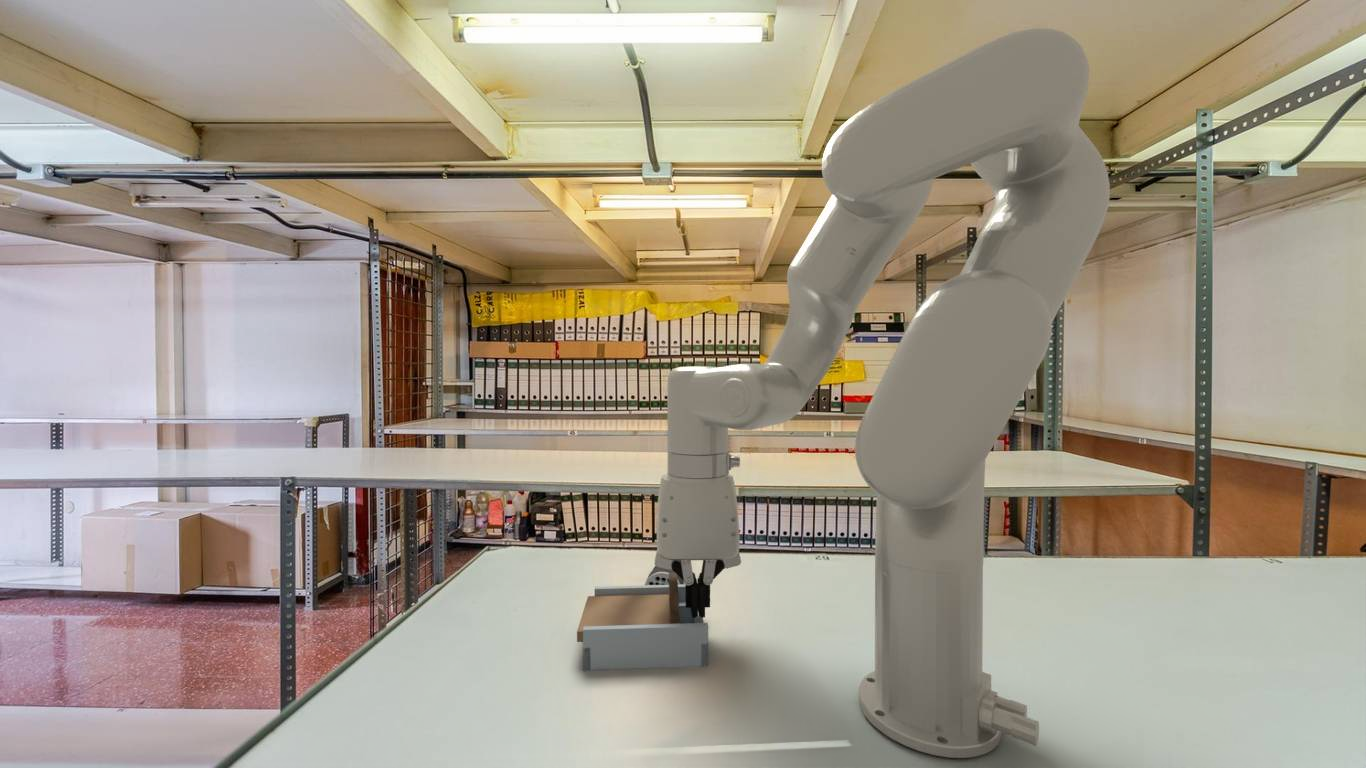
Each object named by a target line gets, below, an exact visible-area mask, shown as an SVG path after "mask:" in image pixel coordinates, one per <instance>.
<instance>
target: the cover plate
mask: <svg viewBox="0 0 1366 768" xmlns="http://www.w3.org/2000/svg"><path fill="white" fill-rule="evenodd" d="M668 581H669V584H668V585H669V594H660V595H619V596H595V595H588V596H587V598H586V602H585V605H584V607H583V611H582V615H581V617H580V620H579V623H578V627H577V630H576V642H577V643H583V628H584V626H617V625H652V624H680V617H679V592H678V582H677V574H676V573H675V572H674V573H669V579H668Z"/></svg>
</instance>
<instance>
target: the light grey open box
mask: <svg viewBox="0 0 1366 768" xmlns="http://www.w3.org/2000/svg"><path fill="white" fill-rule="evenodd" d="M678 592H679V617H680V624H652V625H617V626H584V628H583V642H582V648H583V649H582V662H583V663H582V667H583V668H582V669H583V670H582V671H612V670H613V671H614V670H617V671H618V670H640V669H641V670H642V669H643V670H645V669H647V670H648V669H674V668H675V669H676V668H698V667H699V668H700V667H701V668H704V667H705V668H706V667H709V625H708V622H705V621H704V618H701V616H699V613H698V616H696V618H692V613H691V608H686V601H685V583H683V584H678ZM660 594H669V584H668V585H645V584H644V585H640V584H639V585H605V586H604V585H603V586H602V585H601V586H595V587H594V596H619V595H660Z"/></svg>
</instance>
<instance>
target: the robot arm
mask: <svg viewBox="0 0 1366 768" xmlns="http://www.w3.org/2000/svg"><path fill="white" fill-rule="evenodd" d="M1083 48H1084V47H1083V46H1082V45H1081V44H1080V43H1079V42H1078V41H1077V40H1076V39H1075V38H1074V37H1072V36H1070V35H1069V34H1067V33H1065V32H1064V31H1061V30H1058V29H1054V28H1043V27H1042V28H1041V27H1039V28H1038V27H1034V28H1027V29H1022V30H1017V31H1014V32H1012V33H1008V34H1006V35H1003V36H999V37H998V38H996V39H993V40H990V41H989V42H987V43H984V44H982V45H980V46H978V47H976V48H975V49H972V50H971V51H968V52H966V53H965V54H963V55H961V56H959V57H957V58H955V59H953V60H951V61H948V62H947V63H945V64H943V65H940V67H937V68H935V69H933V70H932V71H930V72H928V73H926V74H924V75H922V76H919V77H918V78H916V79H914V80H912V81H910V82H909V83H907V84H905V85H902V86H901V87H899V88H897V89H894V90H893V91H891V92H889V93H888V94H886V95H884V96H882V97H879V98H878V99H877V100H875V101H874V102H872V103H870V104H869V105H867V106H865V107H864V108H863V109H861V110H860V111H858V112H856V113H855V114H854V115H852V116H851V117H850V118H848V120H846V121H845V122H844V123H843V124H842V125H840V126H839V128H838V129H837V130H836V131H835V132H834V133H833V135H832V136H831V138H830V140H829V141H828V143H827V144H826V147H825V150H824V151H823V156H822V161H821V174H822V177H823V182H824V184H825V187H826V188H827V189H828V191H829V193H830V194H831V196H830V197H829V199H828V201H827V203H826V205H825V206H824V208H823V210H822V212H821V213H820V215H819V217H818V218H817V220H816V222H815V223H814V225H813V226H812V229H811V230H810V231H809V233H808V235H807V236H806V238H805V240H804V242H803V243H802V245H801V246H800V248H799V249H798V251H797V253H796V254H795V256H794V257H793V259H792V261H791V263H790V265H789V267H788V269H787V273H786V274H787V275H786V276H787V277H786V284H787V293H788V299H789V308H788V309H789V311H788V315H787V316H788V317H787V320H786V324H785V326H784V328H783V330H782V332H781V335H780V336H779V339H778V340H777V342H776V344H775V345H774V348H773V349H772V351H771V352H770V353H769V355H768V357H767V358H766V360H765V362H764V363H737V364H729V365H724V366H720V367H719V366H705V365H704V366H703V365H702V366H701V365H699V366H697V365H695V366H693V365H692V366H689V365H688V366H678V367H675V368H673V369H671V370H670V372H669V373H668V377H667V473H665V474H663V475H661V478H660V483H659V488H658V489H659V490H658V495H657V496H658V497H657V512H656V513H657V517H656V547H657V549H656V552H655V557H654V566H657V567H660V568H664V569H671V570H673V571H674V572H675V573H676V574H677V575H678V576H679V577H680V578H681V579H682V580H683V584H685V601H686V608H691V613H692V618H696V616H698V613H699V616H701V618H703V619H704V618H706V608H711V585H712V584H713V582H714V580H715V579H716V578H717V577H718V575H720V574H721V572H723V570H726V569H730V568H733V567H734V568H735V567H738V566H740V565H741V564H742V560H741V559H742V558H741V555H740V552H739V551H740V544H741V543H740V524H739V523H740V522H739V508H738V499H737V492H736V485H735V479H734V476H733V474H730V471H731V469H734V468H740V466H741V458H740V456H739V455H738V456H737V455H735V456H734V454H733V455H732V454H731V453H730V452H729V429H731V430H732V429H733V430H735V431H752V430H753V431H755V430H758V429H763V428H767V427H770V426H776V425H780V424H783V423H786V422H788V421H790V420H791V419H793V418H794V417H795V416H797V415H798V413H800V411H801V410H802V409H803V408H804V407H805V405H806V404H807V403H808V401H809V400H810V398H811V397H812V395H813V394H814V393H815V391H816V390H817V388H818V386H819V385H820V383H821V382H822V380H823V379H824V378H825V376H826V375H827V373H828V372H829V369H830V368H831V366H832V364H833V363H834V361H835V359H836V357H837V355H838V353H839V351H840V349H841V347H842V345H843V343H844V340H845V338H846V336H847V333H848V332H849V330H850V327H851V324H852V323H853V319H854V317H855V314H856V312H857V310H858V308H859V307H860V305H861V304H862V301H864V298H865V297H866V295H867V293H868V292H869V291H870V289H871V288H872V286H873V285H874V283H875V281H876V280H877V279H878V277H879V275H880V274H881V273H882V271H883V270H884V268H885V266H886V265H887V264H888V261H889V260H890V259H891V257H892V256H893V254H894V253H895V251H896V250H897V248H898V247H899V246H900V244H901V242H902V241H903V239H904V238H905V236H906V235H907V234H908V232H909V230H910V229H911V227H912V225H913V224H914V223H915V221H916V219H918V218H919V215H920V214H921V212H922V210H923V209H924V207H925V205H926V203H927V201H928V200H929V197H930V195H931V191H932V188H933V187H932V186H933V181H934V179H936V178H938V177H941V176H944V175H946V174H948V173H951V172H953V171H956V170H959V169H961V168H963V167H965V166H969V165H971V167H972V169H973V170H974V171H975V173H977V175H978V176H979V177H980V178H981V179H982V180H983V181H984V182H985V183H986V185H988V187H990V189H991V190H992V193H993V195H994V207H993V209H992V211H991V214H990V216H989V217H988V219H987V220H986V222H985V224H984V225H983V227H982V229H981V230H980V233H979V234H978V236H977V238H976V241H975V243H974V246H973V248H972V250H971V252H970V254H969V256H968V258H967V260H966V262H965V263H964V265H963V268H962V270H961V271H960V273H959V274H958V275H955V276H953V277H952V278H949V279H947V280H946V281H944V282H942V283H941V284H940V285H938V286H937V287H936V288H935V289H933V290H932V291H931V292H930V293H929V294H928V295H927V296H926V298H925V299H924V300H923V301H922V302H921V304H920V305H919V307H918V308H917V309H916V311H915V312H914V315H913V316H912V318H911V320H910V321H909V323H908V325H907V328H906V329H905V332H904V334H903V335H902V337H901V339H900V341H899V343H898V346H897V348H896V350H895V352H894V353H893V355H892V357H891V359H890V362H889V364H888V365H887V367H886V369H885V371H884V374H883V376H882V377H881V380H880V381H879V383H878V385H877V387H876V389H875V391H874V394H873V395H872V398H871V400H870V401H869V404H868V406H867V407H866V410H865V412H864V414H863V416H862V417H861V418H862V419H861V421H860V422H859V426H858V428H857V431H856V436H855V440H854V441H855V442H854V454H855V455H854V456H855V461H856V466H857V468H858V470H859V473H860V475H861V477H862V478H863V480H864V482H865V484H867V486H868V488H870V489H871V491H872V492H874V493H875V494H876V508H875V509H876V510H875V531H874V532H875V539H874V540H875V541H874V543H875V544H874V545H875V551H874V671H870V673H869V674H867V675H865V676H864V677H863V679H861V681H860V684H859V685H858V703H859V707H860V710H861V711H862V713H863V715H864V716H865V717H866V719H867V720H868V721H869V722H870V723H871V724H872V725H873V726H874V727H875V728H876V729H877V730H879V732H881V733H882V734H884V735H885V736H887V737H888V738H890V739H891V740H894V741H895V742H897V743H899V744H901V745H903V746H905V747H907V748H910V749H913V750H915V751H917V752H921V753H925V754H928V755H933V756H936V757H937V756H938V757H943V758H950V759H951V758H952V759H954V758H955V759H966V758H968V759H969V758H975V757H979V756H982V755H983V756H984V755H985V754H988V753H989V752H991V751H993V750H995V748H997V746H998V745H999V744H1000V741H1001V738H1002V733H1003V734H1006V735H1010V736H1011V738H1014V739H1016V740H1019V741H1022V742H1024V743H1026V744H1028V745H1031V746H1034V747H1037V746H1038V743H1039V735H1040V723H1039V721H1038V720H1036V719H1033V718H1030V717H1028V706H1027V704H1025V703H1024V704H1023V703H1021V702H1019V701H1016V700H1013V699H1007V698H1005V697H1002V696H1000V695H998V692H997V691H994V690H992V674H990V673H987V672H984V671H983V647H984V646H983V637H984V635H983V631H984V629H983V627H984V626H983V624H984V623H983V622H984V621H983V619H984V618H983V617H984V616H983V615H984V613H983V612H984V611H983V609H984V608H983V607H984V601H983V598H984V597H983V595H984V594H983V593H984V588H983V587H984V586H983V585H984V522H985V521H984V520H985V519H984V518H985V516H984V513H985V479H986V477H985V475H986V474H985V473H986V459H987V457H988V456H989V454H990V452H991V450H992V448H993V447H994V445H995V443H996V442H997V440H998V438H999V437H1000V435H1001V434H1002V431H1003V430H1004V428H1005V426H1006V425H1007V423H1008V422H1009V419H1010V418H1011V416H1012V414H1013V412H1014V411H1015V409H1016V407H1017V405H1019V403H1020V401H1021V399H1022V397H1023V395H1024V394H1025V392H1026V390H1027V389H1028V386H1029V385H1030V383H1031V381H1032V379H1033V378H1034V377H1035V375H1036V373H1037V370H1038V369H1039V367H1040V365H1041V363H1042V361H1043V360H1044V357H1045V356H1046V353H1047V351H1048V349H1049V345H1050V343H1051V340H1052V339H1051V337H1052V328H1053V327H1052V325H1053V321H1054V320H1055V318H1056V316H1057V314H1058V312H1059V310H1060V308H1061V307H1062V305H1063V303H1064V301H1065V300H1066V298H1067V296H1068V294H1069V292H1070V290H1071V289H1072V287H1073V286H1074V283H1075V281H1076V280H1077V277H1078V275H1079V273H1080V271H1081V269H1082V267H1083V265H1084V263H1085V262H1086V260H1087V258H1088V256H1089V254H1090V252H1091V250H1092V248H1093V246H1094V244H1095V242H1096V240H1097V238H1098V235H1099V234H1100V231H1101V230H1102V229H1101V228H1102V226H1103V224H1104V221H1105V218H1106V215H1107V211H1108V209H1109V205H1110V204H1109V203H1110V195H1111V187H1110V179H1109V174H1108V170H1107V167H1106V164H1105V161H1104V159H1103V157H1102V155H1101V153H1100V151H1099V150H1098V149H1097V147H1096V146H1095V144H1093V142H1092V141H1091V139H1090V138H1089V137H1088V136H1087V134H1085V132H1084V131H1083V129H1082V128H1081V127H1080V125H1079V124H1080V119H1081V115H1082V112H1083V108H1084V106H1085V105H1084V104H1085V103H1086V102H1085V100H1086V98H1087V93H1088V89H1089V80H1090V67H1089V61H1088V57H1087V55H1086V53H1085V51H1084V49H1083ZM692 561H702V566H701V572H700V573H699V575H698V577H697V578H696V573H694V572H693V566H692Z"/></svg>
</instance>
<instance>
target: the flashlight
mask: <svg viewBox="0 0 1366 768" xmlns="http://www.w3.org/2000/svg"><path fill="white" fill-rule="evenodd" d="M669 573H674V571H673V570H671V569H664V568H660V567H657V566H656V565H654V567H653V568H652V570H651V571H650V572H649V574H648V577H647V578H646V581H645V583H644V585H669ZM677 582H678V584H684V581H683V580H682V579H681V578H680V577H679V576H678V575H677Z"/></svg>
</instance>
